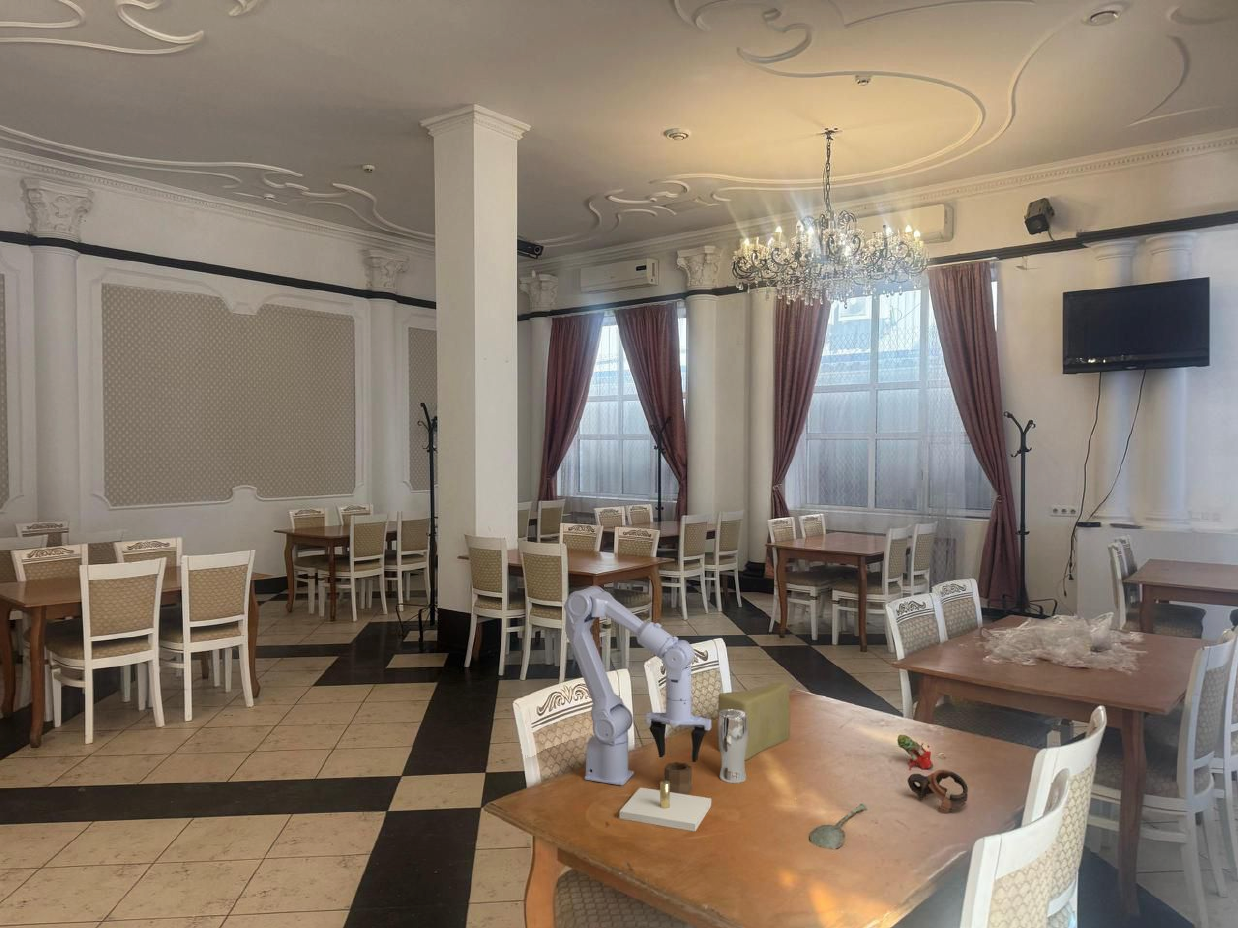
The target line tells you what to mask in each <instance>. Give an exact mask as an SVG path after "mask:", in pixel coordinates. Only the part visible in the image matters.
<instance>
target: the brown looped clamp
mask: <svg viewBox="0 0 1238 928" xmlns="http://www.w3.org/2000/svg"><path fill="white" fill-rule="evenodd" d="M949 777H950V778H951V779H952V780H953V781H954V783H956V784H958V785H959V786H961V788H962V793H960V794H952V793H951V794H950V795H949V797H947V796H946V793H947V792H948V788H946V787H944V786H942V785H940V783H941V781H942V780H945V779H947V778H949ZM916 783H917V784H919V785H917V784H916ZM907 784H908V786H909V788H910V790H911V791H912V792H914V793H915V794H916V795H917V797H918V798H919V800H923V799H924V798H925V797H926V796H928V795H932V794H933V795H935V796H936V797H937V798H938V799H939V800H940V801H941V802H940V803H941V804H940V805H939V806H938V809H939V811H940V813H943V814H947V813H948V812H950V810H951V811H954V810H956V809H957V810H958V808H959V809H960V808H961V807H963V806H964V805H966V802H968V796H969V794H968V792H969V788H968V784H967V783H966V781H965V780H964V779H963V778H962V777H961V776H960V775H958V774H957V773H956V772H955V771H951V770H947V769H939V770H936V771H934V772H932V773H930V774H929V775H927V776H925V775H922V774H920V773H912V774H910V775H909V777H908V778H907Z"/></svg>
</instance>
